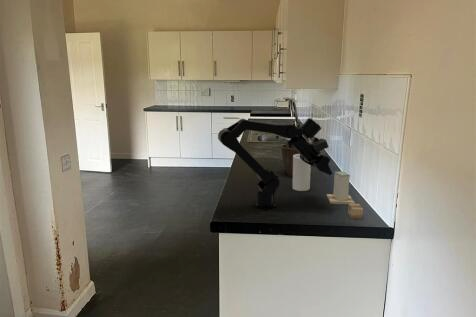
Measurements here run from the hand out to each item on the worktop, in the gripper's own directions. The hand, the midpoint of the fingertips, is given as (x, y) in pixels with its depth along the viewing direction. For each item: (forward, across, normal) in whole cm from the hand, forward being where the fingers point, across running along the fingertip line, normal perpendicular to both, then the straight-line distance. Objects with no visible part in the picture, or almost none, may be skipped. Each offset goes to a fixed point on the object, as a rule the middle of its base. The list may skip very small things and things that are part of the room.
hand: (326, 171), depth 150 cm
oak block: (+13, -18, +6) cm, 23 cm away
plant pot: (+12, +43, +8) cm, 45 cm away
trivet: (+15, 0, +4) cm, 15 cm away
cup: (+8, +19, +12) cm, 24 cm away
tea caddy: (+14, 0, +3) cm, 15 cm away
